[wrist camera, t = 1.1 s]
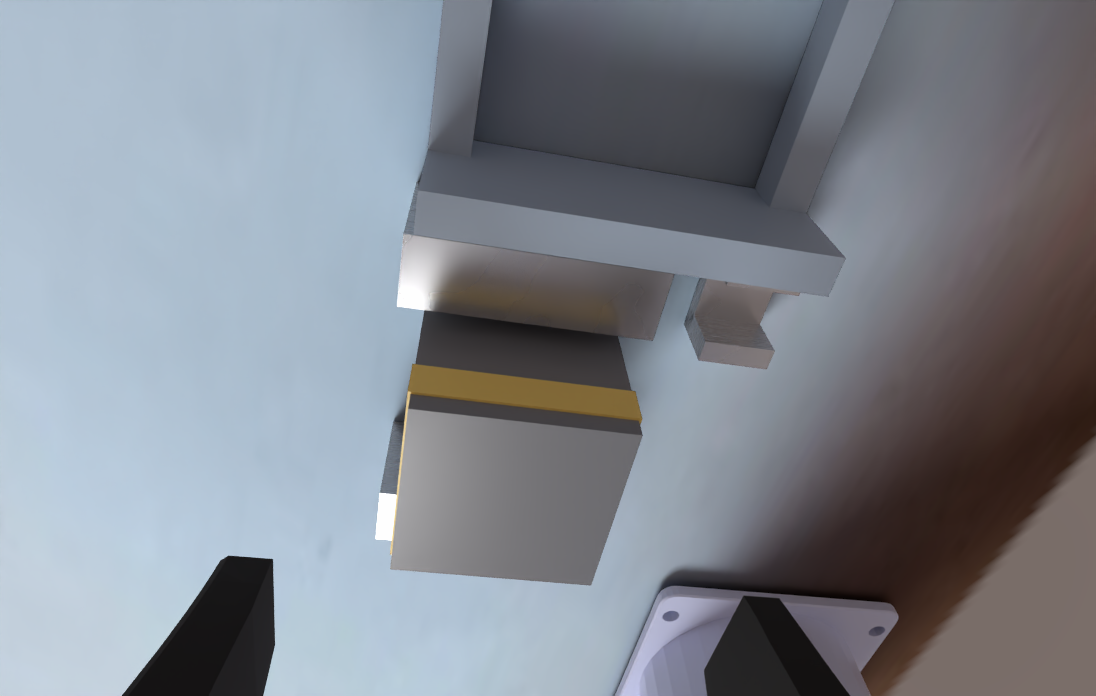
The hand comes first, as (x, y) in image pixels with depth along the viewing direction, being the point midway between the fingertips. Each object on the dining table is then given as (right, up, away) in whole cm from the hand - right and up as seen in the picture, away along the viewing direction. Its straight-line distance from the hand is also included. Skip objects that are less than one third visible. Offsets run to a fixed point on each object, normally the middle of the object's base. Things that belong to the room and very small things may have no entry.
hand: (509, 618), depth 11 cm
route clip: (+5, +6, +5) cm, 9 cm away
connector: (0, +4, +6) cm, 7 cm away
